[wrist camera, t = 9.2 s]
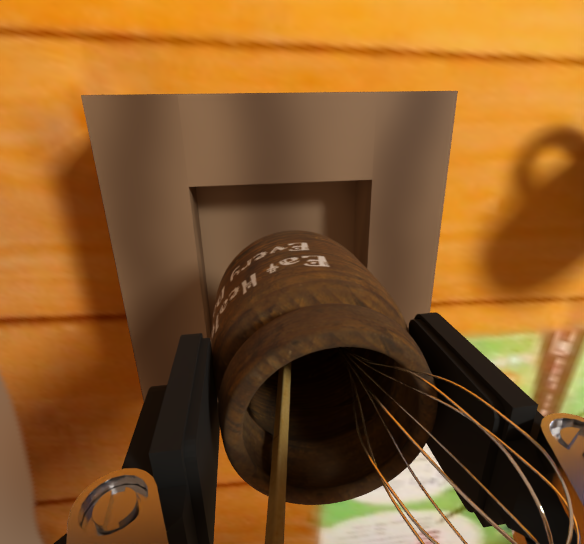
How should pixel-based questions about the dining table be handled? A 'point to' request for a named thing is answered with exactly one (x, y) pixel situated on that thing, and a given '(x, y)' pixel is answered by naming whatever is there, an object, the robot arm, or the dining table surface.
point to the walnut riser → (263, 194)
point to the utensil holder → (327, 382)
